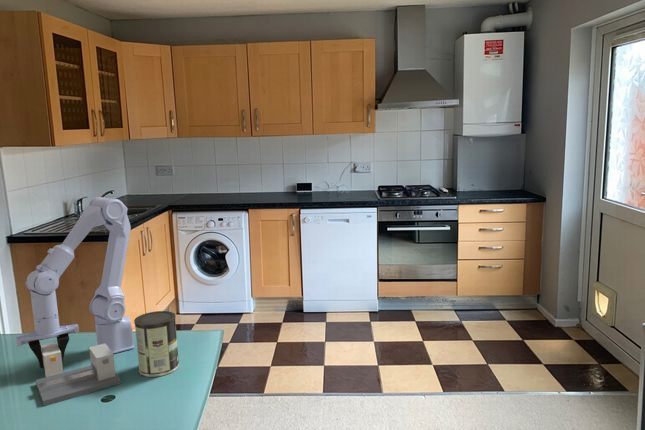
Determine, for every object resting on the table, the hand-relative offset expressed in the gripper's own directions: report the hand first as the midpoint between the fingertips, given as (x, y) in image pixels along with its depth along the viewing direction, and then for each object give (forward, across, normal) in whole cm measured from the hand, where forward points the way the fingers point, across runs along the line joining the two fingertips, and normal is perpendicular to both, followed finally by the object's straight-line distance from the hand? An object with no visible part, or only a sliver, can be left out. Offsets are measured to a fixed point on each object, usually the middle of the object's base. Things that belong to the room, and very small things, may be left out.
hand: (51, 364), depth 136 cm
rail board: (+2, -4, +13) cm, 14 cm away
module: (+2, 0, 0) cm, 2 cm away
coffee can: (+2, -23, +17) cm, 29 cm away
